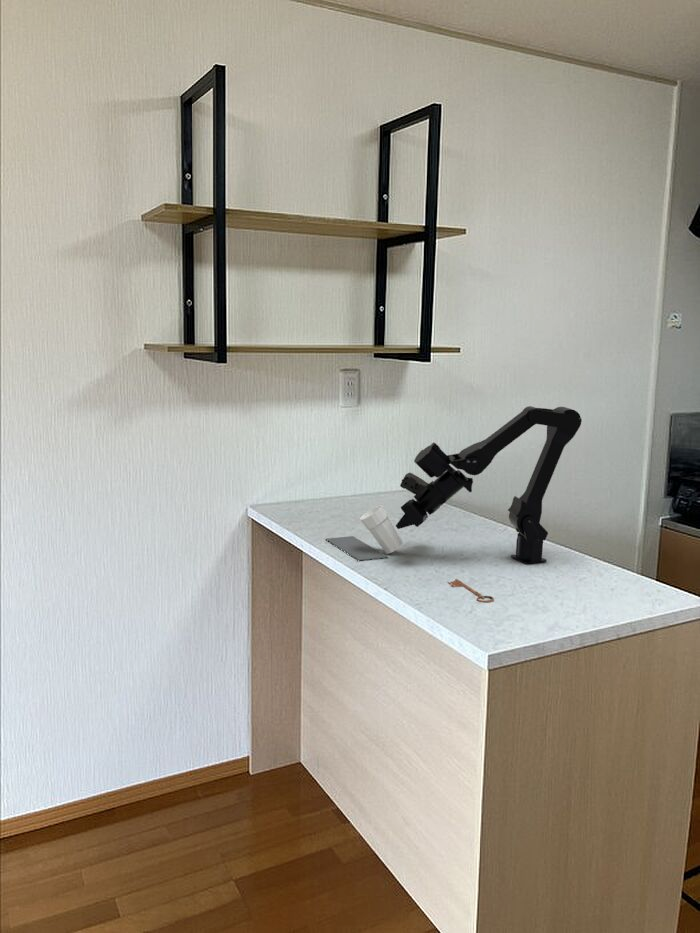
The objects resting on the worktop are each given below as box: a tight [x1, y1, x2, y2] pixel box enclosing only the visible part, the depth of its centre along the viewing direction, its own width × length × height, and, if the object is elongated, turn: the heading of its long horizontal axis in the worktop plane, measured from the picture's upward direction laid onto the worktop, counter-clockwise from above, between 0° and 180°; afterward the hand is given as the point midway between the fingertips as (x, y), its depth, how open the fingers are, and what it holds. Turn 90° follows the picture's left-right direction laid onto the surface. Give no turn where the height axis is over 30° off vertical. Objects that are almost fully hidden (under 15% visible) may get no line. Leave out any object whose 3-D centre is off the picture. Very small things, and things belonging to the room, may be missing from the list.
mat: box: [325, 535, 389, 562], centre depth 212 cm, size 20×8×1 cm, turn 26°
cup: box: [359, 504, 404, 555], centre depth 208 cm, size 7×7×11 cm
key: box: [446, 578, 495, 604], centre depth 182 cm, size 6×1×15 cm
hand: (397, 527), depth 208 cm, fingers closed
